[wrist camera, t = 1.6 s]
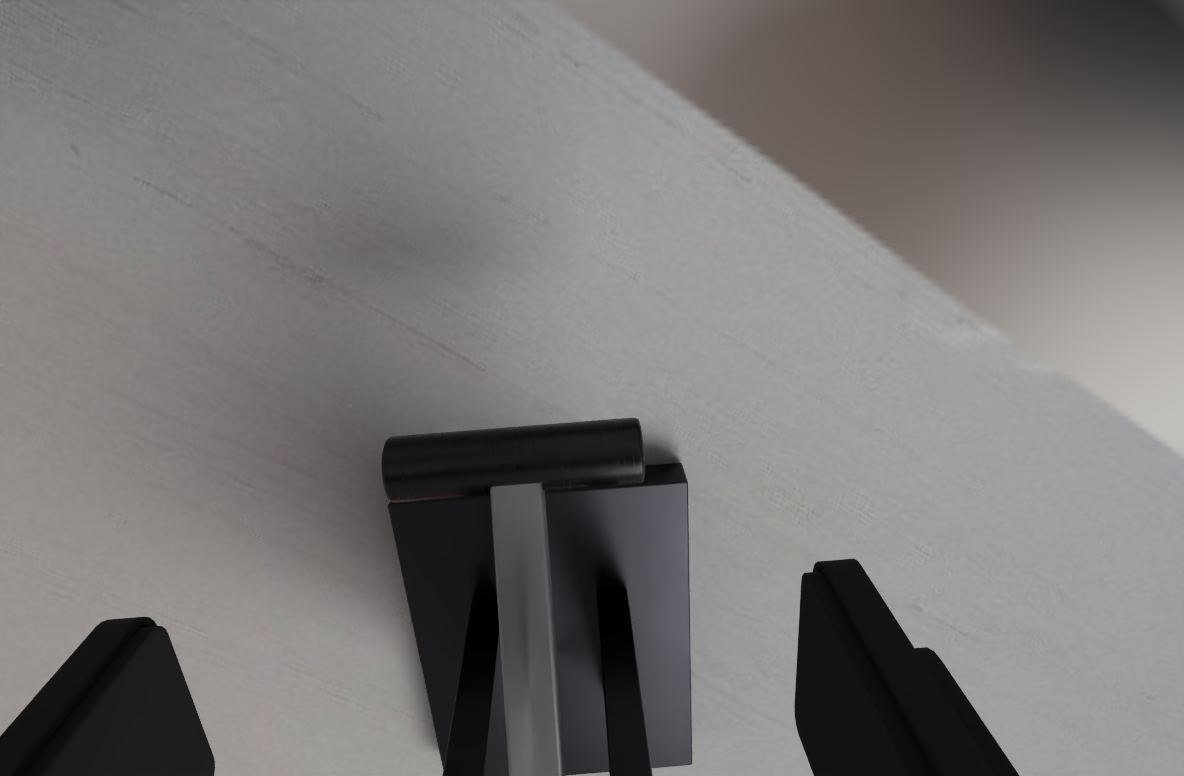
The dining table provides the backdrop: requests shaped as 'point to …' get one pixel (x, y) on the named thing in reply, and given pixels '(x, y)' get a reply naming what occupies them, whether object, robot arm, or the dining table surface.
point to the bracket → (561, 624)
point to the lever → (520, 543)
